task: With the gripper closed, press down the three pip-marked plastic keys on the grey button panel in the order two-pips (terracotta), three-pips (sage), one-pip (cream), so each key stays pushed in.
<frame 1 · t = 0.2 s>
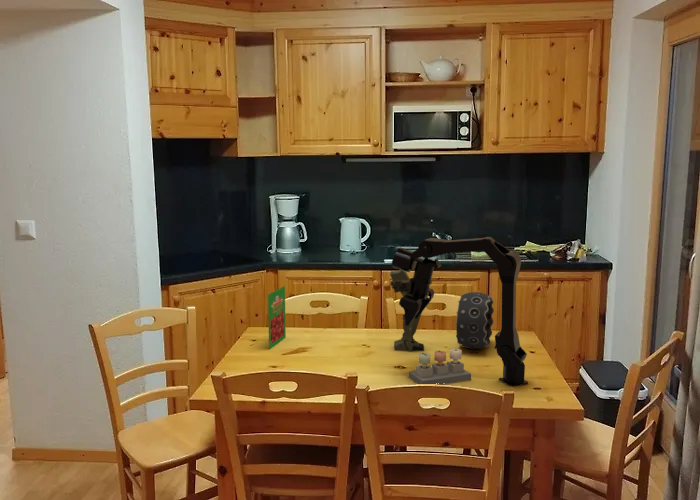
hand: (411, 321, 211), 15 cm above the table, tool pointing down, fingers open, 9 cm apart
key3 sage: (424, 362, 198), point 6 cm above the table, slide at 0.0 cm
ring: (474, 347, 233), on the table
grey button panel: (439, 378, 201), on the table
key1 cream: (455, 357, 203), point 6 cm above the table, slide at 0.0 cm
tomato puree packet: (277, 343, 237), on the table
key2 terracotta: (440, 359, 200), point 6 cm above the table, slide at 0.0 cm
mechanical leg: (406, 348, 231), on the table
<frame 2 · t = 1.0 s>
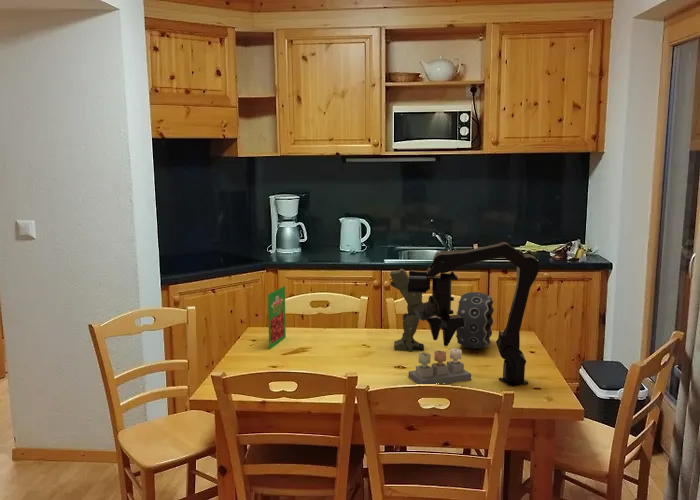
hand: (440, 343, 200), 11 cm above the table, tool pointing down, fingers open, 6 cm apart
nothing on the table moved.
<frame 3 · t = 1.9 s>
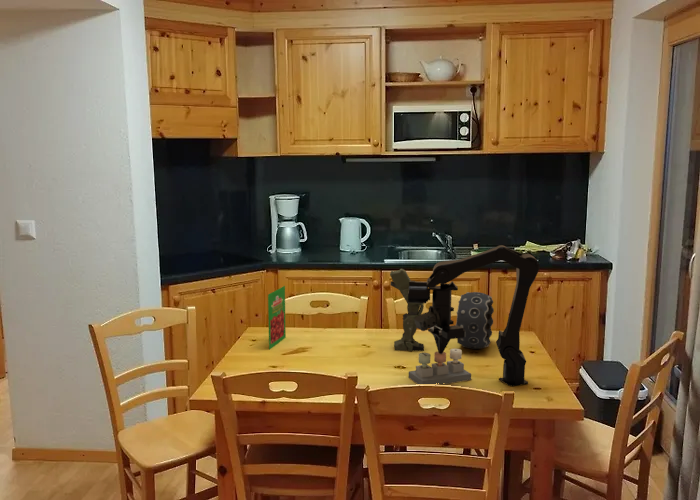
hand: (440, 353, 200), 8 cm above the table, tool pointing down, fingers closed
key2 terracotta: (440, 360, 201), point 6 cm above the table, slide at 0.3 cm, touching gripper
everything else where it was.
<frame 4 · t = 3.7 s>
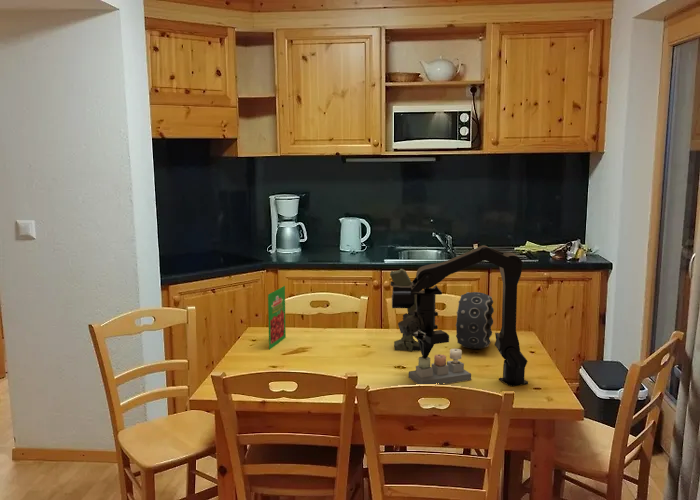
hand: (424, 357, 198), 7 cm above the table, tool pointing down, fingers closed, pressing on key3 sage
key3 sage: (424, 365, 199), point 5 cm above the table, slide at 1.2 cm, touching gripper
key2 terracotta: (440, 363, 201), point 5 cm above the table, slide at 1.2 cm
everything else where it was.
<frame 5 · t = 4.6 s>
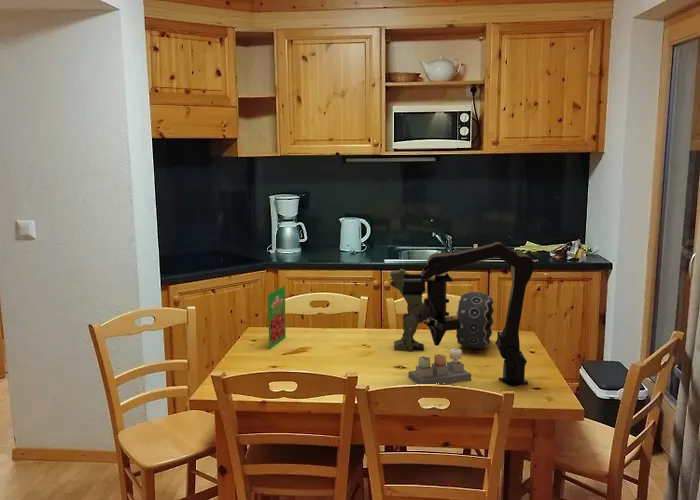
hand: (436, 345, 199), 11 cm above the table, tool pointing down, fingers closed
key3 sage: (424, 365, 199), point 5 cm above the table, slide at 1.2 cm
everything else where it was.
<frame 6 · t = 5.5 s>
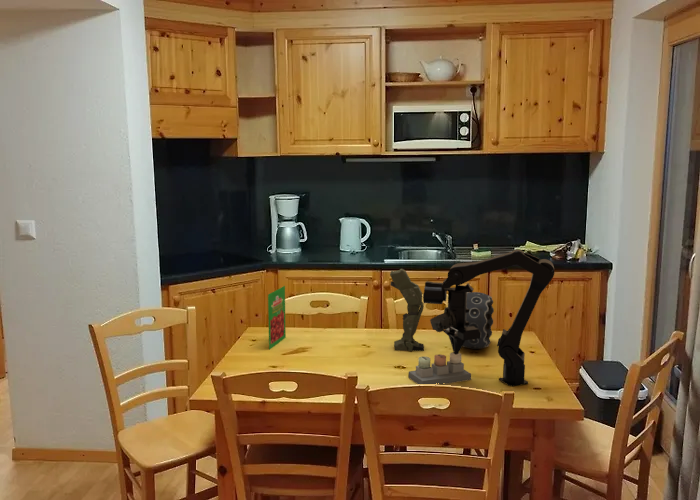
hand: (456, 353, 202), 7 cm above the table, tool pointing down, fingers closed, pressing on key1 cream
key1 cream: (455, 361, 203), point 5 cm above the table, slide at 1.2 cm, touching gripper
everything else where it was.
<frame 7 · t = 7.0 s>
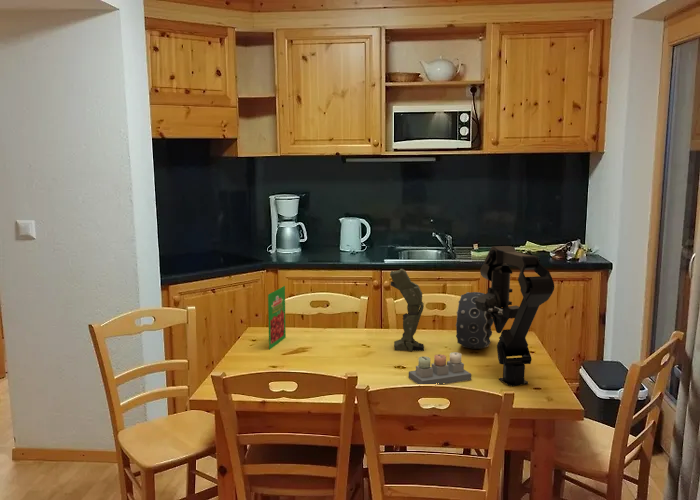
hand: (498, 332, 209), 12 cm above the table, tool pointing down, fingers closed
key1 cream: (455, 361, 203), point 5 cm above the table, slide at 1.2 cm
everything else where it was.
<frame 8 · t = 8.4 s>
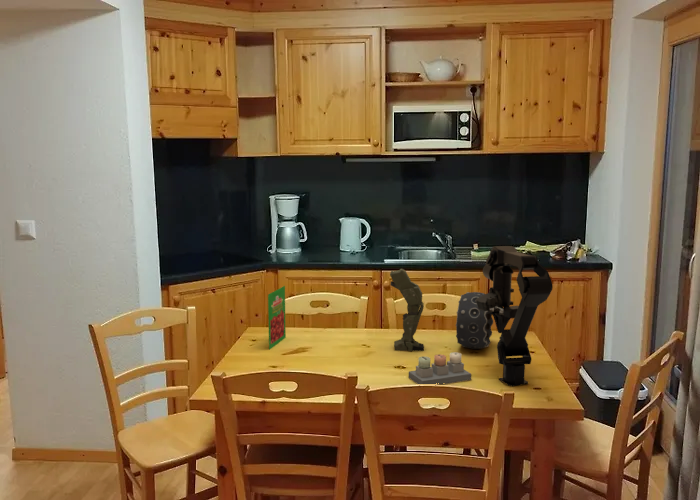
hand: (500, 332, 209), 12 cm above the table, tool pointing down, fingers closed
nothing on the table moved.
at the end: key2 terracotta slide at 1.2 cm; key3 sage slide at 1.2 cm; key1 cream slide at 1.2 cm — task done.
